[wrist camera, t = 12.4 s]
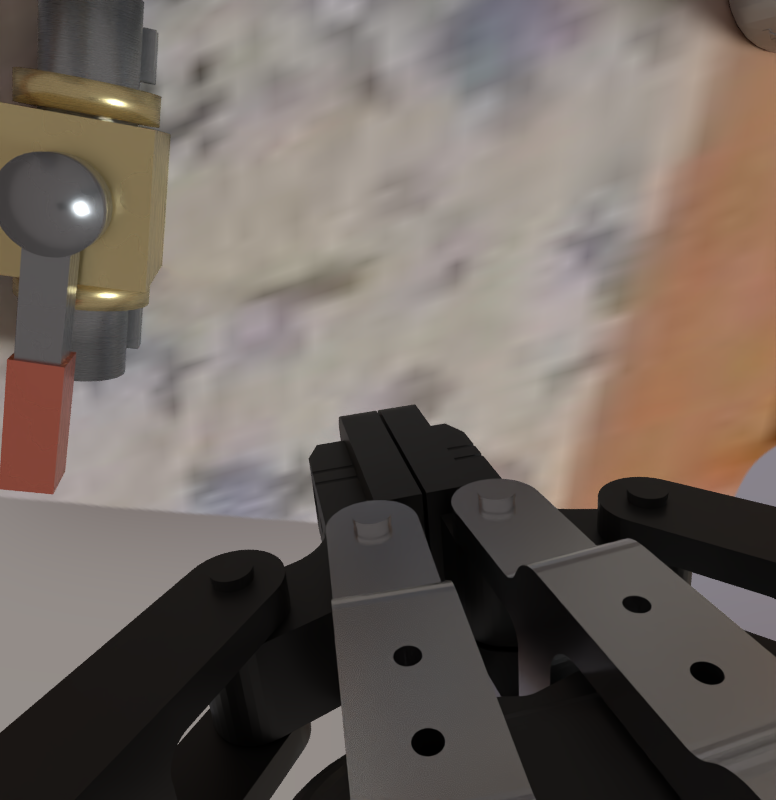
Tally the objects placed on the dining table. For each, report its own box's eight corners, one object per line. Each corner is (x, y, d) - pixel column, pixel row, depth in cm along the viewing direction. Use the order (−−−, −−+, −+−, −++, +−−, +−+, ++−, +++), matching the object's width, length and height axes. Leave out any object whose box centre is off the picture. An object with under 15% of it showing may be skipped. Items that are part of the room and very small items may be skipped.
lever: (13, 141, 28) (-6, 140, 26) (117, 164, 29) (108, 165, 27) (-7, 463, 32) (-25, 486, 30) (85, 473, 33) (74, 496, 31)
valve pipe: (27, -13, 33) (-33, -61, 26) (177, 20, 35) (163, -16, 27) (25, 345, 39) (-24, 392, 31) (155, 358, 40) (138, 405, 33)
